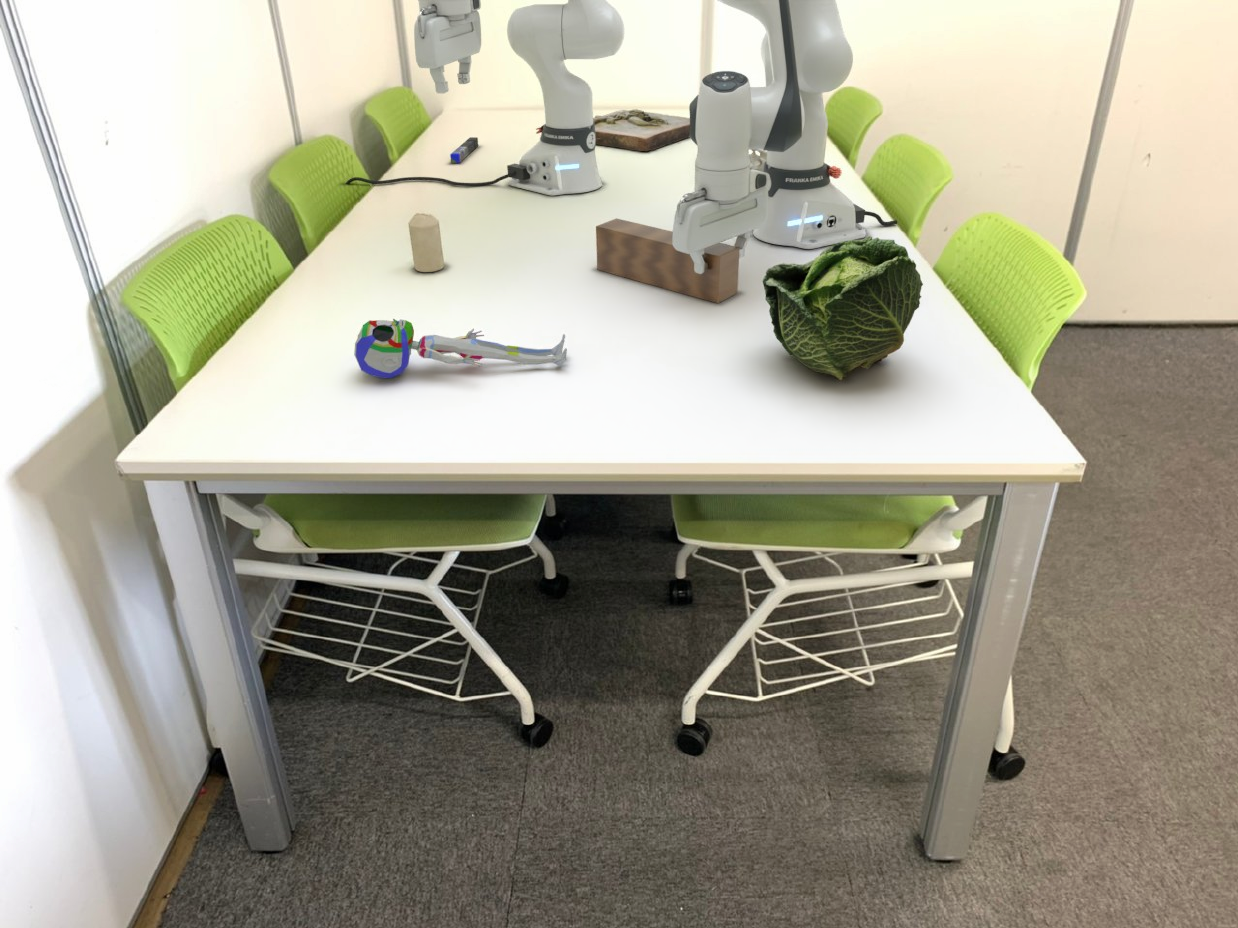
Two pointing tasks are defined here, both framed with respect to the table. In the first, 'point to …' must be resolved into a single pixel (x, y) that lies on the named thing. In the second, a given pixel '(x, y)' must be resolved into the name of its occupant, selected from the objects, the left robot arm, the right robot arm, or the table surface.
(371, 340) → the toy
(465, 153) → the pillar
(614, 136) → the plaque
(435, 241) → the candle
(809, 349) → the vegetable
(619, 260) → the bar
